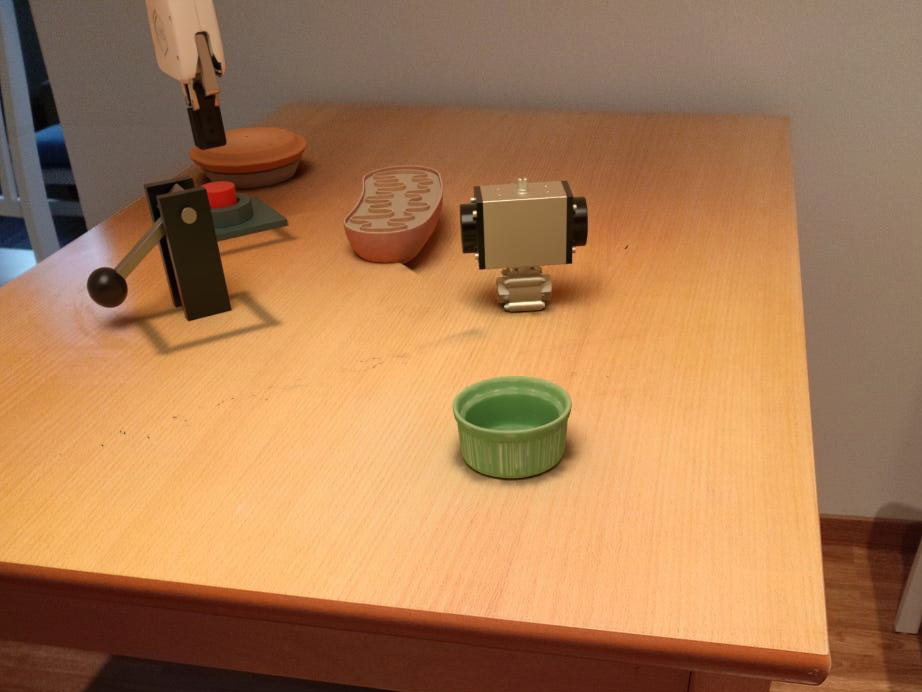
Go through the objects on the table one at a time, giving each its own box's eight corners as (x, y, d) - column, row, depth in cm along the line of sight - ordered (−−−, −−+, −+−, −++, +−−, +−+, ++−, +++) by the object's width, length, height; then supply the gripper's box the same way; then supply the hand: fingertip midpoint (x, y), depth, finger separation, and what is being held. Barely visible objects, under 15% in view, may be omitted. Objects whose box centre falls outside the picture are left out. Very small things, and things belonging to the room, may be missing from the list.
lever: (115, 321, 95) (83, 295, 92) (105, 308, 97) (74, 282, 94) (209, 215, 94) (180, 185, 91) (197, 204, 96) (168, 176, 93)
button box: (190, 261, 114) (182, 224, 111) (164, 235, 120) (156, 200, 118) (290, 238, 118) (284, 202, 115) (259, 215, 125) (253, 180, 122)
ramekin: (594, 448, 79) (596, 396, 76) (519, 497, 74) (518, 445, 71) (507, 414, 84) (505, 364, 81) (431, 458, 79) (427, 407, 76)
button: (209, 213, 115) (205, 194, 113) (198, 204, 117) (194, 185, 116) (242, 206, 116) (239, 187, 115) (231, 197, 119) (227, 178, 118)
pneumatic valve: (586, 311, 99) (589, 182, 91) (466, 319, 99) (459, 190, 91) (578, 289, 103) (581, 163, 95) (463, 296, 103) (457, 171, 95)
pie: (292, 195, 130) (285, 153, 127) (178, 194, 132) (168, 153, 129) (324, 159, 141) (319, 120, 138) (219, 159, 144) (211, 120, 140)
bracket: (164, 351, 96) (128, 212, 88) (138, 319, 102) (102, 186, 94) (273, 323, 100) (248, 187, 92) (242, 293, 106) (216, 163, 98)
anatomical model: (372, 209, 124) (367, 166, 121) (452, 207, 124) (450, 163, 121) (343, 281, 107) (336, 233, 104) (436, 279, 107) (432, 231, 103)
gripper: (112, -54, 104) (159, 138, 116) (154, -40, 94) (200, 169, 106) (182, -63, 107) (221, 126, 119) (230, -50, 97) (267, 155, 109)
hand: (211, 145), depth 113 cm, fingers closed
